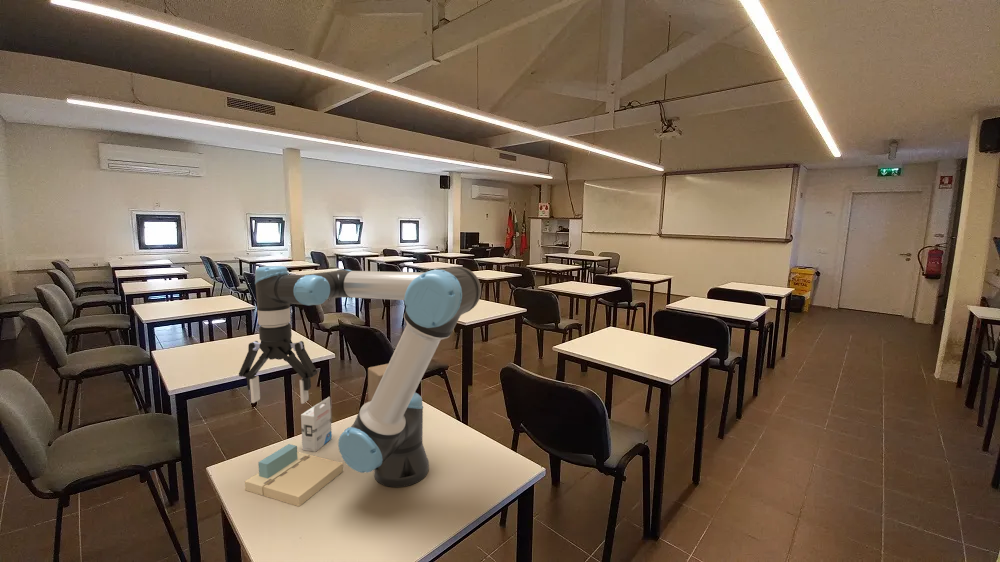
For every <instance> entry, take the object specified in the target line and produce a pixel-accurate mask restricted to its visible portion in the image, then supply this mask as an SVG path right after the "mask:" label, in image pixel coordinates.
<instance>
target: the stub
mask: <svg viewBox="0 0 1000 562" xmlns="http://www.w3.org/2000/svg"><path fill="white" fill-rule="evenodd" d="M310 455H311V454H309V453H303V452H300V451H298V446H297V445H294V444H291V443H288V444H286V445H284V446H283V447H281V448H280V449H278V450H276V451H275V452H273V453H271V454H269V455H268V456H266V457H265V458H263V459H261V460H259V461H258V472H257V473H256V474H254V475H251V476H250V477H249V478H248V479H246V480H245V481H244V490H245V491H247V492H250V493H253V494H257V495H260V496H264V490H263V487H264V486H265V485H267V484H268V483H270V482H271V481H273V480H274V479H276V478H277V477H279V476H280V475H282V474H283V473H285V472H286V471H288V470H289V469H291V468H292V467H294V466H295V465H297V464H298V463H300V462H301V461H302V460H304V459H305V458H307V457H308V456H310Z"/></svg>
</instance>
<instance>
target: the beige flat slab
mask: <svg viewBox="0 0 1000 562" xmlns="http://www.w3.org/2000/svg"><path fill="white" fill-rule="evenodd" d="M309 455H310V456H308V457H307V458H305V459H304V460H302V461H301V462H300V463H298V464H297V465H295V466H294V467H292V468H291V469H289V470H288V471H286V472H285V473H283V474H282V475H280V476H279V477H277V478H276V479H274V480H273V481H271V482H270V483H268V484H267V485H265V486H264V487H263V490H264V495H263V497H265V498H266V497H267V498H269V499H273V500H276V501H280V502H283V503H285V504H286V503H287V504H288V505H292V506H297V507H300V506H302V505H303V504H304V503H305V502H306V501H308V500H309V499H310V498H311V497H313V496H314V495H315V494H317V493H318V492H319V491H320V490H322V489H323V488H324V487H325V486H327V485H328V484H329V483H330V482H332V481H333V480H334V479H335V478H337V477H339V475H340V474H342V473H343V472H344V463H343V462H339V461H336V460H332V459H329V458H324V457H320V456H316V455H312V454H309Z"/></svg>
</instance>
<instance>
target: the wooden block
mask: <svg viewBox="0 0 1000 562" xmlns="http://www.w3.org/2000/svg"><path fill="white" fill-rule="evenodd" d="M388 364H389V363H385V364H380V365H379V364H378V365H375V366H370V367H368V368H367V386H368V387H367V389H368V392H367V395H368V401H367V402H370V401H371V400H372V398H373V396H374V394H375V392H376V390H377V387H378V385H379V383H380V381H381V379H382V377H383V375H384V372H385V370H386V368H387V366H388Z"/></svg>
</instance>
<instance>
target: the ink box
mask: <svg viewBox="0 0 1000 562" xmlns="http://www.w3.org/2000/svg"><path fill="white" fill-rule="evenodd" d="M331 409H332V406H331V397H330V396H328V397H327V398H324V399H323V400H322V401H321V402H318V403H316V404H315V405H313V406H312V407H311V408H308V409H307V410H306V411H304V412H303V413H301V414H300V420H301V421H300V422H301V424H300V425H301V426H300V427H301V448H302V451H307V452H308V451H309V452H318V451H319V450H320V449H321V448H322V447H324V446H325V445H326V444H327V443H328V442H329V441H330V440H332V435H333V434H332V410H331Z"/></svg>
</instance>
